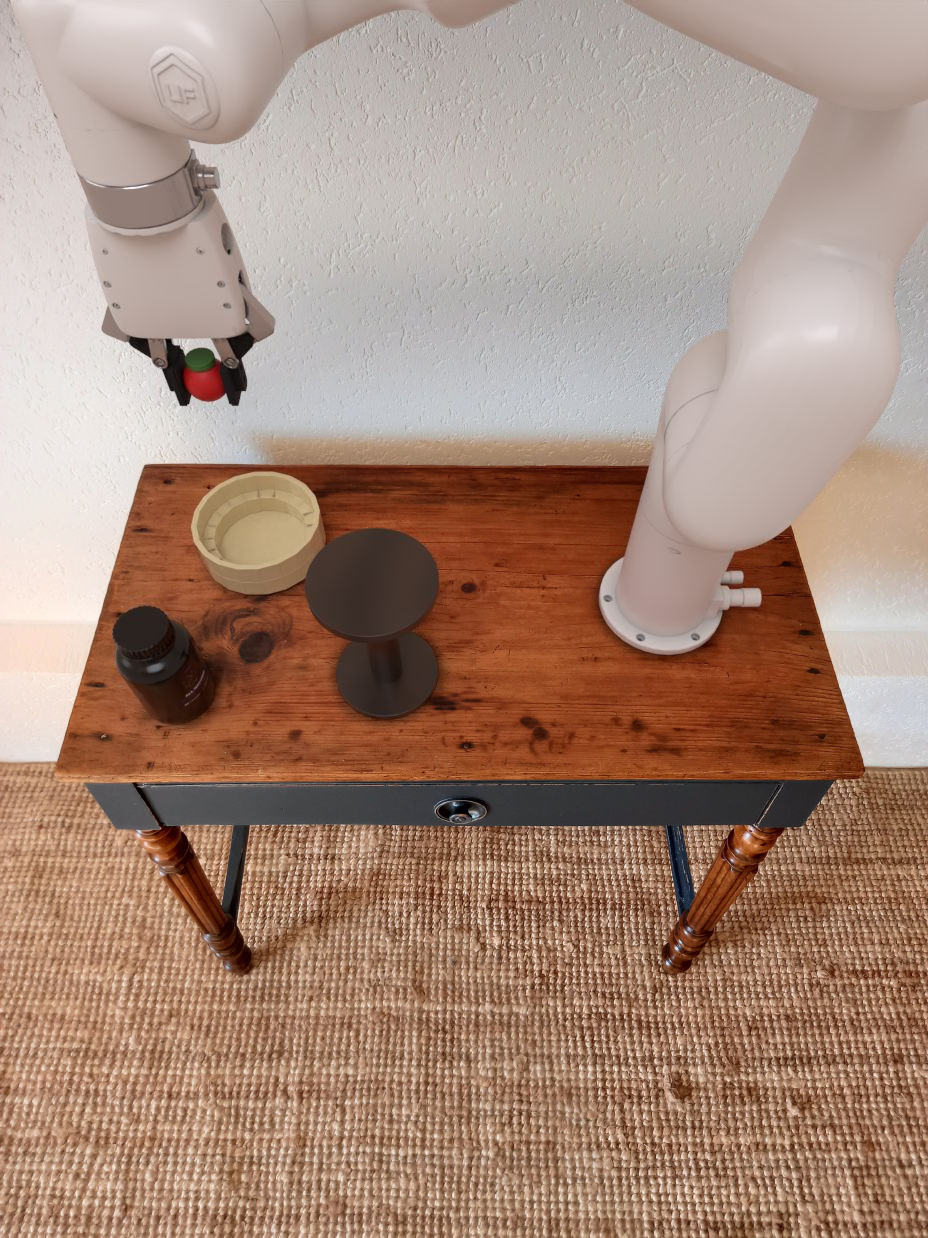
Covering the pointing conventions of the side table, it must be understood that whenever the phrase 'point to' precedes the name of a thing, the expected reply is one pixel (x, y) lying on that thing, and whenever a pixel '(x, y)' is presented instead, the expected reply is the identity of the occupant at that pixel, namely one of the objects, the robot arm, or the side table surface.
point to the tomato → (203, 375)
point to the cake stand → (377, 618)
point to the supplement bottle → (162, 665)
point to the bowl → (258, 532)
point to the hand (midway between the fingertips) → (211, 393)
